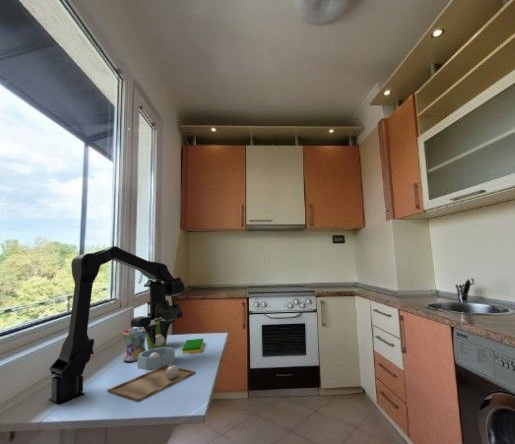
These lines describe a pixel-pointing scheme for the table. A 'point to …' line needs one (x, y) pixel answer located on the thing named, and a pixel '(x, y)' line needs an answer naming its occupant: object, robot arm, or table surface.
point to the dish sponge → (193, 346)
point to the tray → (148, 384)
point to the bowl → (156, 358)
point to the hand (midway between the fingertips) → (158, 342)
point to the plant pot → (149, 343)
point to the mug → (134, 343)
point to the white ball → (154, 354)
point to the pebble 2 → (172, 372)
